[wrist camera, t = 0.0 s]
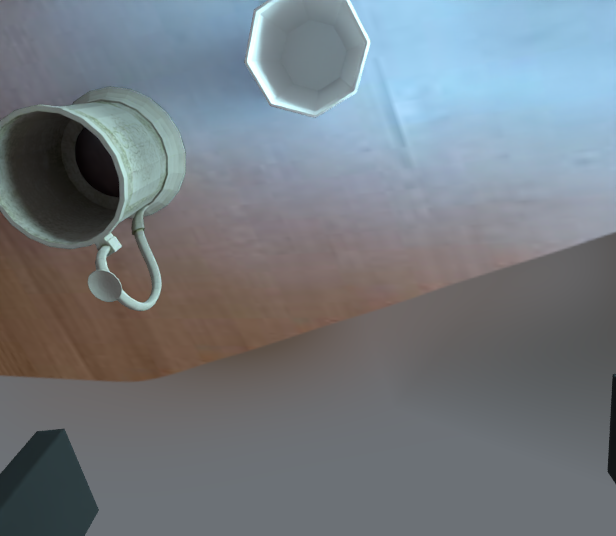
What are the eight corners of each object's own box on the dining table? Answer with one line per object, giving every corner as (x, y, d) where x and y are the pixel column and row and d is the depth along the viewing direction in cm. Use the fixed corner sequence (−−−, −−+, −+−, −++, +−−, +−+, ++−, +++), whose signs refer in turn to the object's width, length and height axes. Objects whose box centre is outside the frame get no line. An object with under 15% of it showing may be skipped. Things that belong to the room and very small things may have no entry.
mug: (33, 130, 38) (-96, 154, 27) (134, 60, 36) (38, 55, 24) (145, 283, 42) (73, 359, 31) (242, 230, 40) (201, 291, 29)
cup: (274, 115, 36) (255, 127, 29) (248, -41, 33) (219, -74, 25) (370, 101, 35) (377, 109, 28) (354, -61, 32) (357, -102, 24)
